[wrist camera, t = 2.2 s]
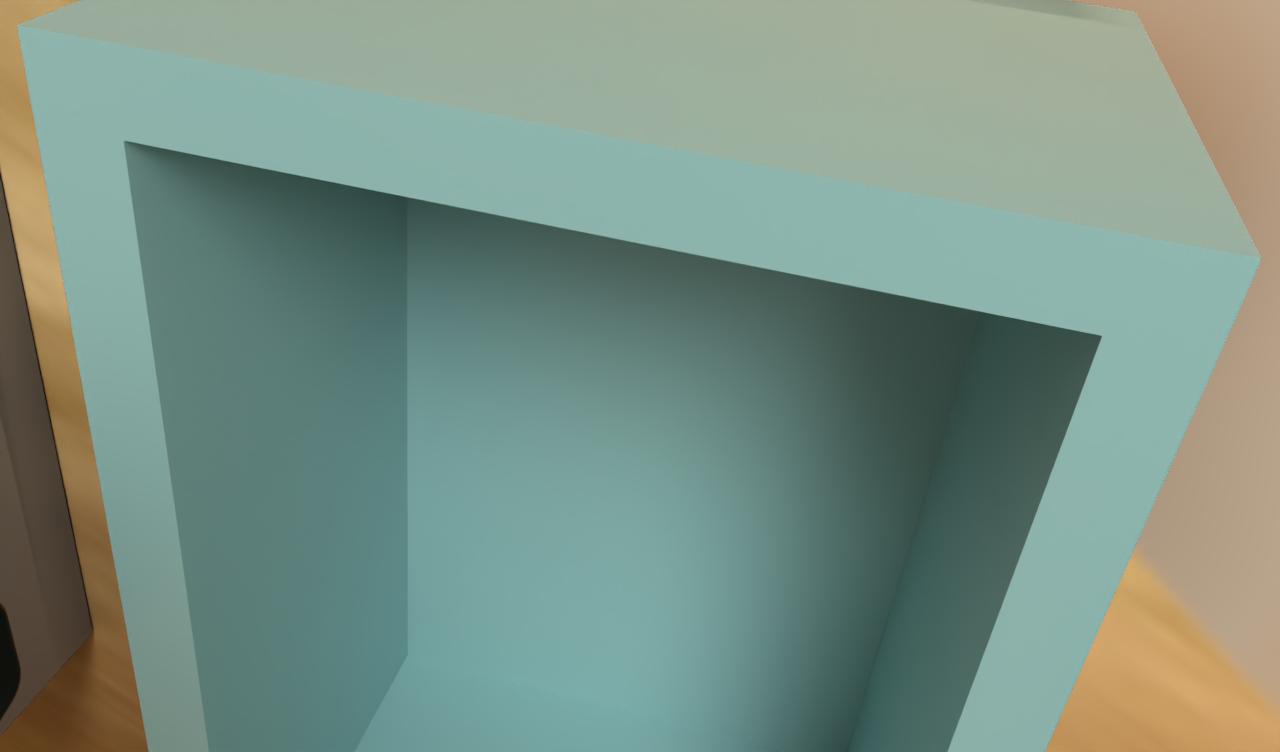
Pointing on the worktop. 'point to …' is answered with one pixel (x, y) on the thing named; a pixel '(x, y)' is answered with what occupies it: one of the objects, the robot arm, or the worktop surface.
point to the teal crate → (625, 360)
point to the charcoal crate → (32, 505)
